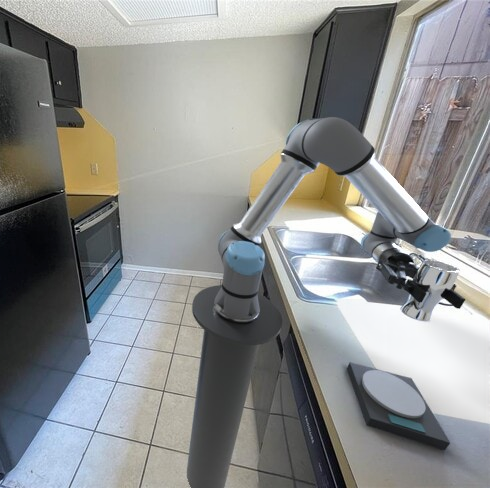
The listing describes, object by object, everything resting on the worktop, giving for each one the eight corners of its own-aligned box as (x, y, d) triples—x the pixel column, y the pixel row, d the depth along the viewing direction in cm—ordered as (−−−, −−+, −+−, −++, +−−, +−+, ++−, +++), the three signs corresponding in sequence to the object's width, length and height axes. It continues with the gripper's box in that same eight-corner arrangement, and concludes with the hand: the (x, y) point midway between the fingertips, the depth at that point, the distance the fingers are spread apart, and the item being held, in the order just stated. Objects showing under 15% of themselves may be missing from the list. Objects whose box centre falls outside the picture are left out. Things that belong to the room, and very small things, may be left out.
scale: (346, 368, 67) (350, 359, 65) (407, 385, 63) (413, 375, 62) (366, 425, 54) (371, 415, 52) (444, 450, 50) (452, 440, 49)
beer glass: (434, 327, 65) (464, 275, 59) (398, 315, 68) (423, 265, 62) (430, 313, 70) (457, 264, 64) (397, 303, 74) (420, 256, 67)
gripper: (424, 274, 81) (484, 321, 61) (353, 264, 86) (387, 305, 65) (435, 253, 78) (502, 295, 58) (361, 243, 83) (399, 280, 62)
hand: (441, 300), depth 61 cm, fingers closed on beer glass, 7 cm apart
